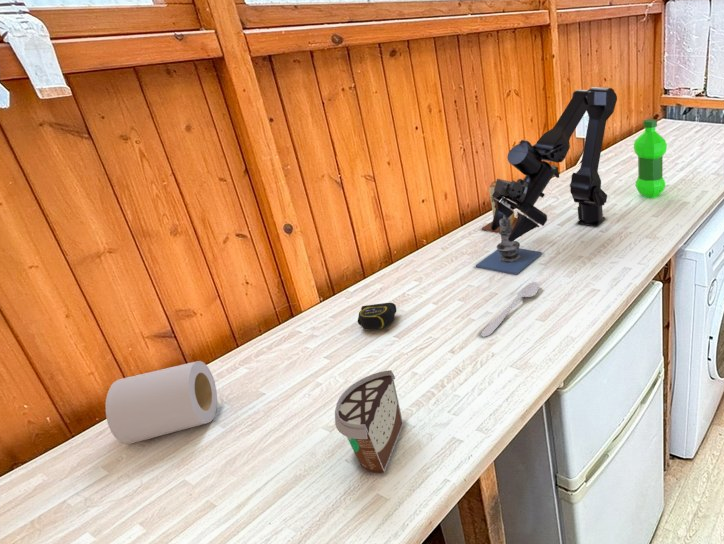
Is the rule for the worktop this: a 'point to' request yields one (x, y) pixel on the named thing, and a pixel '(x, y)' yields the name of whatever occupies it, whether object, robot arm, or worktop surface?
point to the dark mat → (488, 227)
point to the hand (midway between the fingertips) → (500, 235)
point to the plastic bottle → (650, 160)
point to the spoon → (525, 292)
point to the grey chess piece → (507, 242)
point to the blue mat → (513, 267)
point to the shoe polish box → (494, 202)
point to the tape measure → (376, 316)
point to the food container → (371, 419)
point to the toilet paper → (161, 402)
